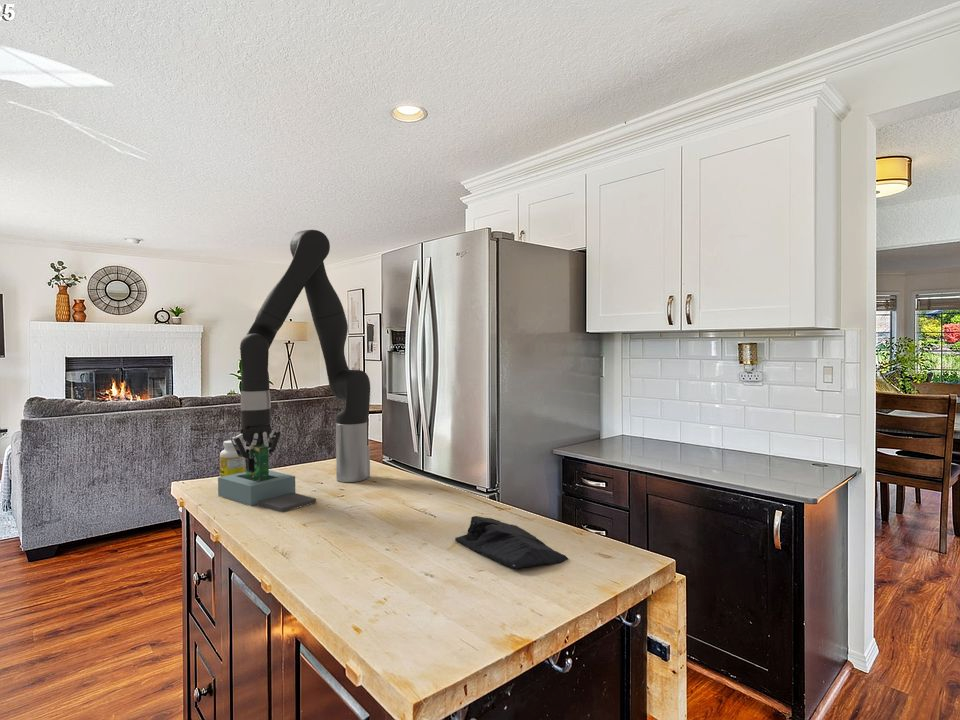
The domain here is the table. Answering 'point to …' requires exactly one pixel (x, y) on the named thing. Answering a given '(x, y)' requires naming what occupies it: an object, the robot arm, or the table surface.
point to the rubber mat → (286, 502)
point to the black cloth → (508, 544)
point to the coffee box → (259, 464)
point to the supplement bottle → (230, 460)
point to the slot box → (255, 487)
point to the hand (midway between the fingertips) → (257, 470)
